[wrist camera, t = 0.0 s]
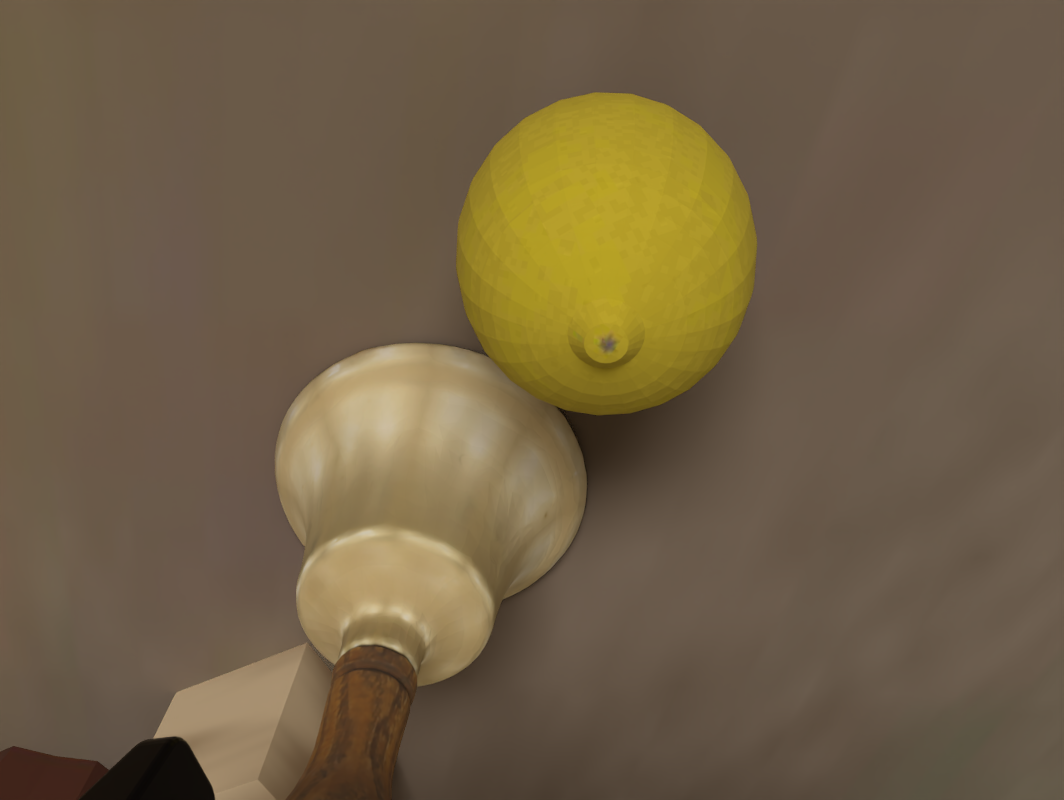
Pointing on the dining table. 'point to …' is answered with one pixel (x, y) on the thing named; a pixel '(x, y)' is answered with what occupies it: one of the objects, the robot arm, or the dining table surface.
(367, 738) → the hand bell
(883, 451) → the dining table surface
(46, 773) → the muffin
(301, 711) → the oak block
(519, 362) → the lemon
